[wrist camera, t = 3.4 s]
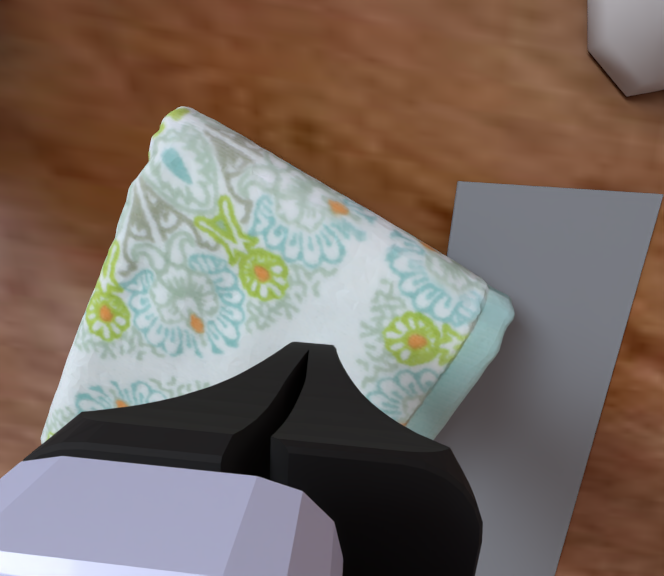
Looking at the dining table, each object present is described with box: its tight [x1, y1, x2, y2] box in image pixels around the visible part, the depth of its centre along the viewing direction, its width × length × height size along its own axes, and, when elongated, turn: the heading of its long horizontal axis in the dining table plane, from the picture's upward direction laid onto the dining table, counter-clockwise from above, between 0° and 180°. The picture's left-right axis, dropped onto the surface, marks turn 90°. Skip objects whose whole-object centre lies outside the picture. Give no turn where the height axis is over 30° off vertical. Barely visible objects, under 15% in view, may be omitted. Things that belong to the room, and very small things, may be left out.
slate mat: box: [434, 181, 663, 576], centre depth 23 cm, size 26×10×1 cm, turn 176°
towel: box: [41, 107, 515, 444], centre depth 20 cm, size 18×21×5 cm
